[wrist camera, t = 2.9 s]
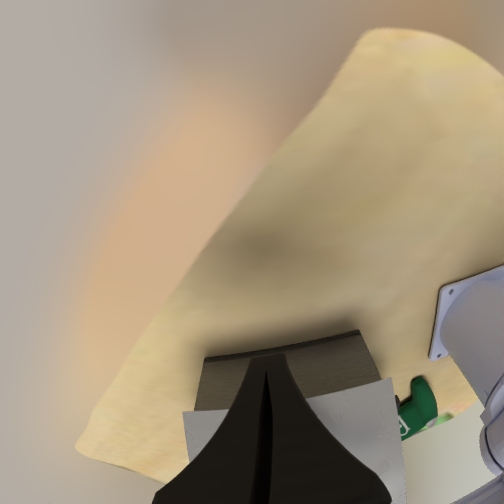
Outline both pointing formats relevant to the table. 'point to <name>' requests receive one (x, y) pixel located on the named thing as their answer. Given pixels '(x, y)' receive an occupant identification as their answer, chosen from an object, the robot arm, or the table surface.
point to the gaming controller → (418, 409)
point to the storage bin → (293, 369)
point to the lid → (338, 429)
